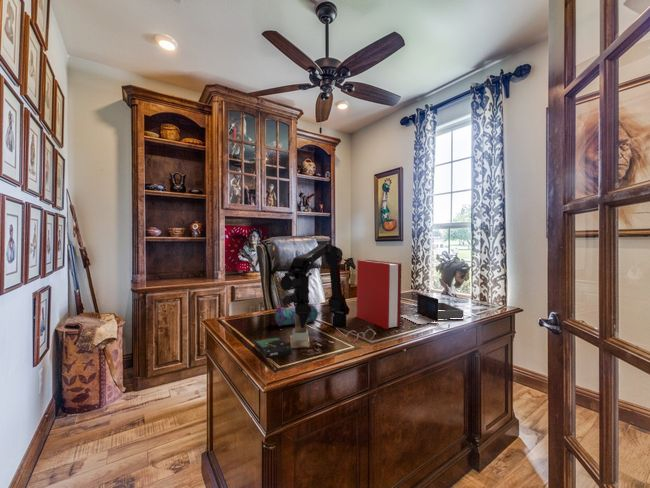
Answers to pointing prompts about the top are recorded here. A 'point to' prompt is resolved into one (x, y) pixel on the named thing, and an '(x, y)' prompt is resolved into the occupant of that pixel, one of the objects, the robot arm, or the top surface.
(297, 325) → the walnut block
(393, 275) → the book
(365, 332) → the eyeglasses
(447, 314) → the charger caddy
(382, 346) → the top surface
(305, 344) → the tower base
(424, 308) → the laptop
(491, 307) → the top surface
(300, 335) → the tower top
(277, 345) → the disk drive
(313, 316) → the pencil case
